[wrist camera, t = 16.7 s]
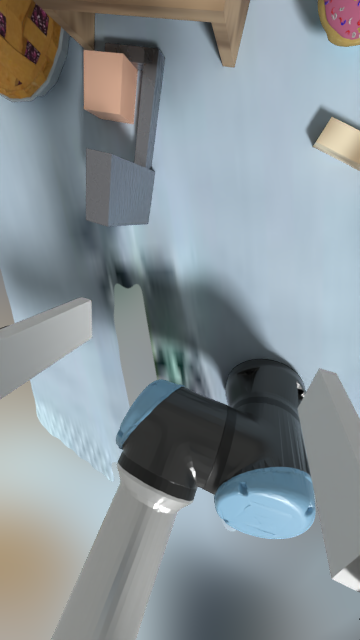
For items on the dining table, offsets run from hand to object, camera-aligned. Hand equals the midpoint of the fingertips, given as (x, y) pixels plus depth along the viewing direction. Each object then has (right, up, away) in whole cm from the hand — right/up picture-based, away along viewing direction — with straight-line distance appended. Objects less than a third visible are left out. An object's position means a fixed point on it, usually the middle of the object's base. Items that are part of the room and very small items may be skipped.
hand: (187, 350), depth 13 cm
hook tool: (-8, +29, +23) cm, 38 cm away
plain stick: (+23, +22, +15) cm, 35 cm away
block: (-10, +36, +21) cm, 43 cm away
